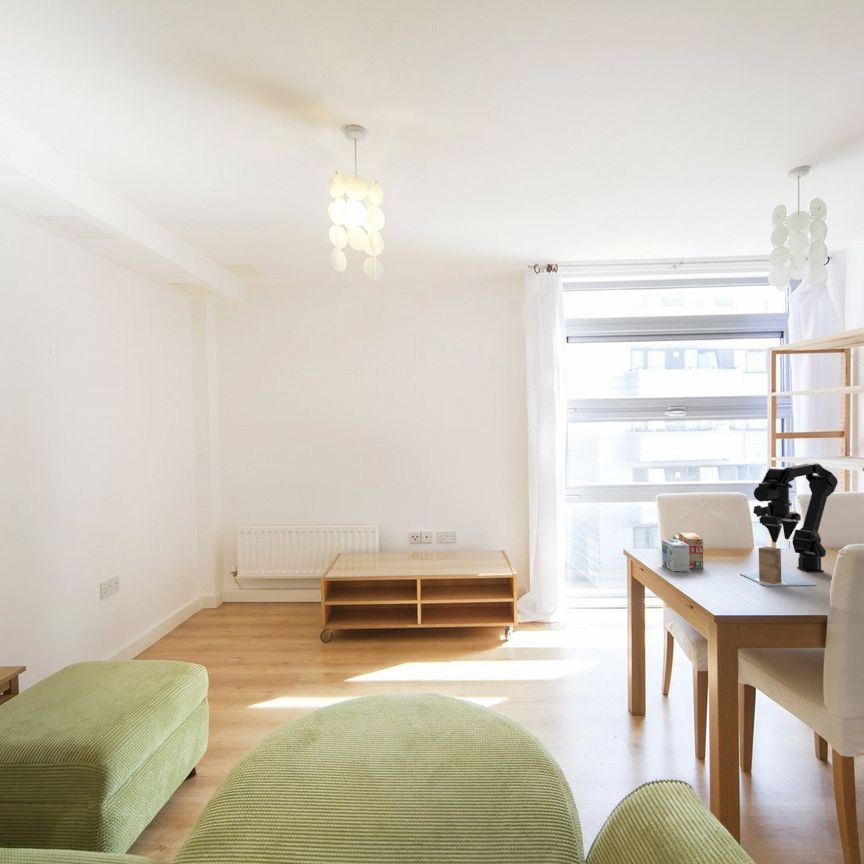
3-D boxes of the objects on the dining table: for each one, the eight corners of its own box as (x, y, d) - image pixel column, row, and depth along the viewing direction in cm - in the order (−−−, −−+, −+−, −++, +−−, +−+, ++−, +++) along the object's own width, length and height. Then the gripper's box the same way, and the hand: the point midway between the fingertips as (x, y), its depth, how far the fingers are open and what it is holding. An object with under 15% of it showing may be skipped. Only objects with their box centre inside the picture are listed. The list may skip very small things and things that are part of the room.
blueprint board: (787, 574, 194) (787, 572, 194) (816, 585, 179) (816, 584, 179) (740, 574, 194) (740, 573, 194) (764, 586, 179) (764, 584, 179)
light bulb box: (661, 565, 210) (661, 539, 210) (678, 565, 210) (677, 539, 210) (673, 572, 200) (672, 544, 200) (690, 572, 199) (689, 544, 199)
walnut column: (766, 578, 187) (765, 546, 187) (781, 582, 182) (780, 548, 182) (759, 581, 184) (758, 548, 184) (774, 584, 180) (773, 550, 180)
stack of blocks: (673, 555, 226) (673, 528, 226) (688, 556, 225) (688, 528, 225) (687, 568, 205) (686, 537, 205) (703, 568, 204) (703, 538, 204)
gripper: (769, 496, 205) (770, 534, 205) (744, 499, 195) (745, 540, 195) (801, 498, 195) (801, 539, 195) (776, 502, 186) (777, 545, 186)
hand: (780, 540), depth 193 cm, fingers open, 9 cm apart
